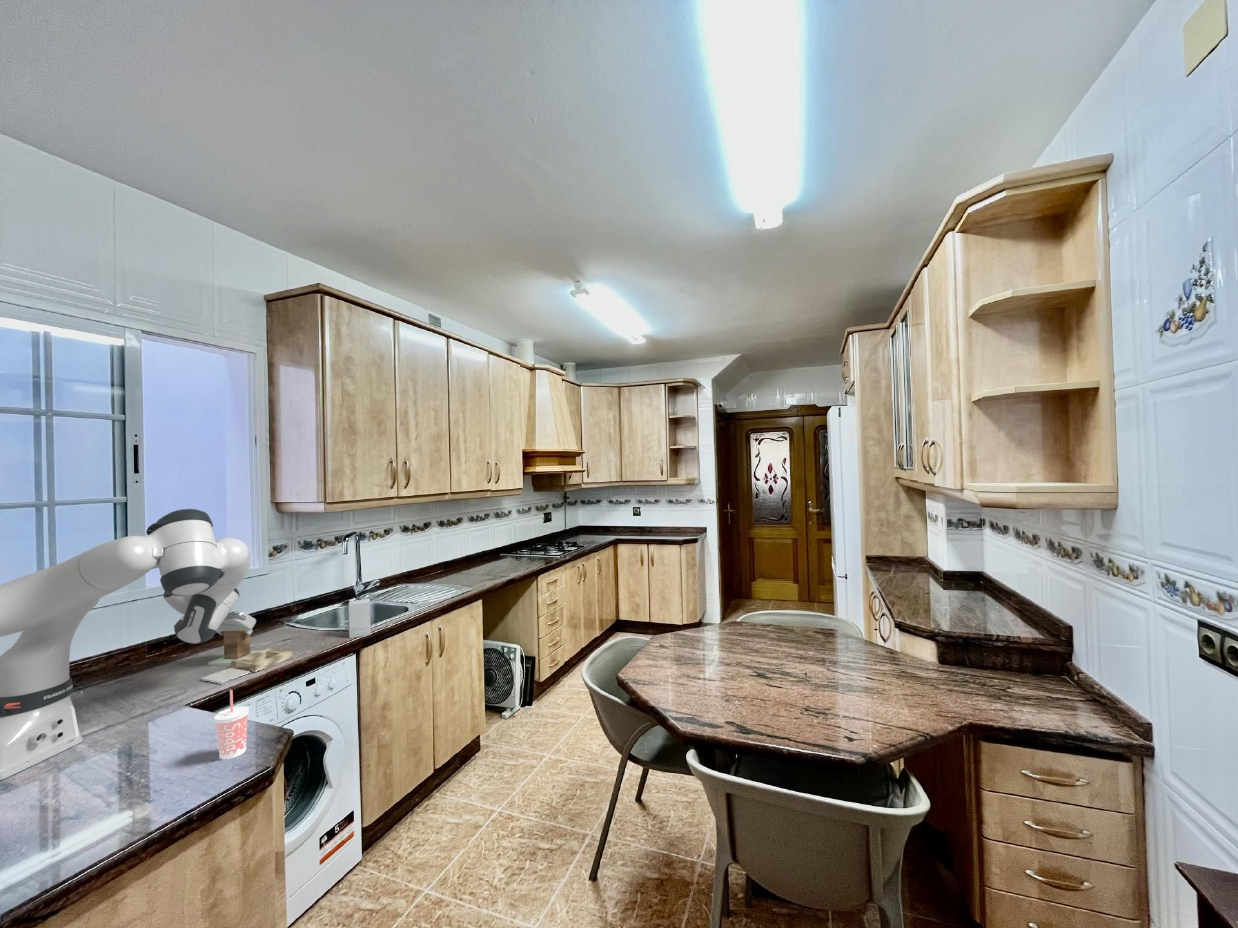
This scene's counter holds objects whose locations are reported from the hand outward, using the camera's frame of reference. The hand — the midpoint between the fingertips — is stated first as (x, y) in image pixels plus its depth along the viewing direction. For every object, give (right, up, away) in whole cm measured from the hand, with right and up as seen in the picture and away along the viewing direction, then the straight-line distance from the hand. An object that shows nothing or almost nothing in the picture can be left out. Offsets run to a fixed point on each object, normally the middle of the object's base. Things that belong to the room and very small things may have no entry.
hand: (237, 632), depth 167 cm
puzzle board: (+12, -8, -10) cm, 17 cm away
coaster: (+1, -9, -1) cm, 9 cm away
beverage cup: (+46, -6, -59) cm, 75 cm away
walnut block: (0, -8, 0) cm, 8 cm away
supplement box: (+31, -8, +21) cm, 39 cm away
